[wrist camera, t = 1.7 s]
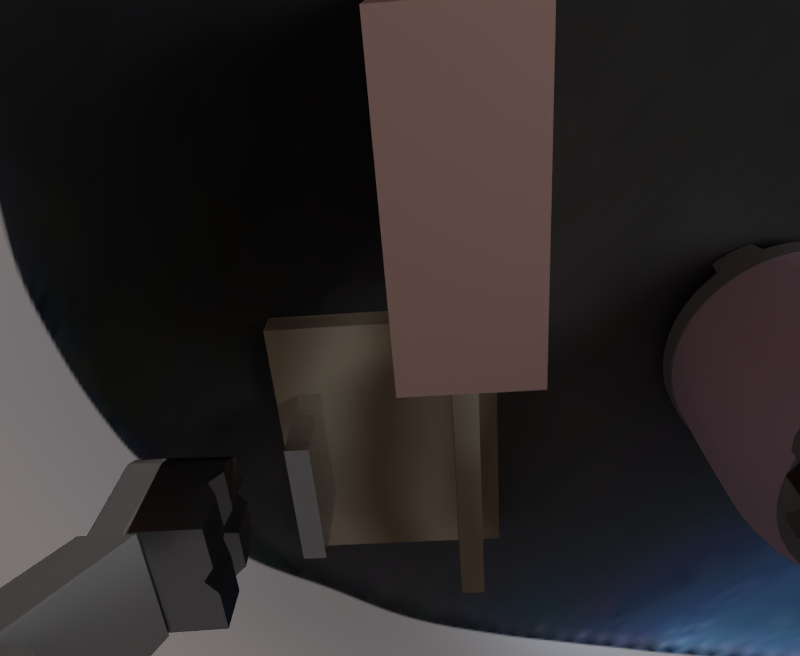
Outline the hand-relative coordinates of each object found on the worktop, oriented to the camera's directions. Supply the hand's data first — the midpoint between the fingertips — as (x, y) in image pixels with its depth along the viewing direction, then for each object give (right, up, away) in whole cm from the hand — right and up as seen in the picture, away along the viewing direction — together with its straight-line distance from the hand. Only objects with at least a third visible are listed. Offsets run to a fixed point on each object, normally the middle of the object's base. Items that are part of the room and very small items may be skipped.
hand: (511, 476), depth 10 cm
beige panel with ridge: (-2, -4, +31) cm, 31 cm away
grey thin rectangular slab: (-6, -5, +29) cm, 31 cm away
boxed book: (0, +12, +23) cm, 26 cm away
